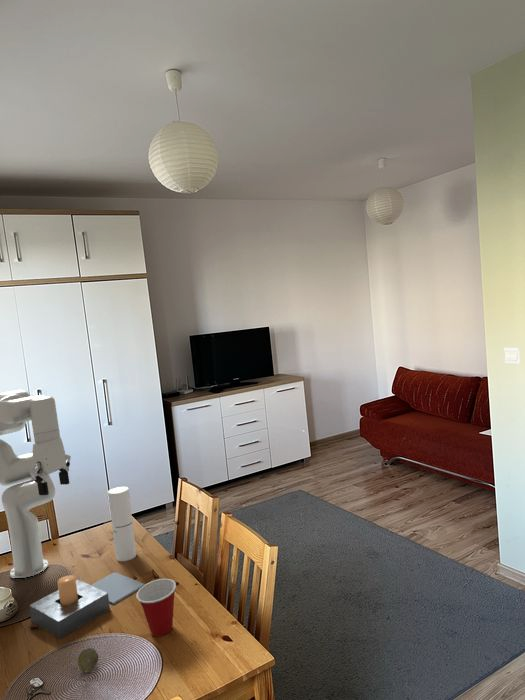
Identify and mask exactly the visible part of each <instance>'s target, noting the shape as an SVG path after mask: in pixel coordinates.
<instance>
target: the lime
mask: <svg viewBox="0 0 525 700" xmlns="http://www.w3.org/2000/svg"><path fill="white" fill-rule="evenodd" d="M98 654H99V653H98V652H97V650H95V649H94V648H92V647H88V648H85V649H84V650H82V651H81V653H80V654H79V655H78V658H77V665H78V667H79V668H80V670H81V671H82V672H85V673H91V672H92V671H93V670H95V669H96V667H97V665H98V662H99V655H98Z"/></svg>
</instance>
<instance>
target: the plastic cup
mask: <svg viewBox="0 0 525 700" xmlns="http://www.w3.org/2000/svg"><path fill="white" fill-rule="evenodd" d="M144 584H145V583H144ZM176 585H177V583H176V581H174V580H173V579H169V578H159V579H158V578H157V579H155V580H151V581H150V582H148V583H146V584H145V585H144V586H143V587H141V588H140V589H139V590H137V591H136V600H137V601H138V602H139V603H140V605H141V608H142V610H143V613H144V616H145V619H146V623H147V624H148V627H149V631H150V634H152V636H154V637H164V636H165V635H168V634H169V633H170V632H172V630H171V629H173V624H174V622H173V621H174V620H173V619H174V607H175V605H174V603H175V602H174V601H175V592H176V589H177V586H176Z"/></svg>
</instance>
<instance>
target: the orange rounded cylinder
mask: <svg viewBox="0 0 525 700" xmlns="http://www.w3.org/2000/svg"><path fill="white" fill-rule="evenodd" d="M76 580H77V578H76V576H75V575H73V574H72V575H65V576H62V577H60V578H59V579H58V580H57V590H59V598H60V605H62V606H64V607H66V606H68V605H70V604H72V603H73V602H75V601H77V600H78V594H77V586H76Z"/></svg>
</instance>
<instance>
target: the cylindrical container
mask: <svg viewBox="0 0 525 700" xmlns="http://www.w3.org/2000/svg"><path fill="white" fill-rule="evenodd" d="M129 489H130V488H129V487H128V486H117V487H114V488H111V489H108V491H107V494H108V503H109V510H110V517H111V525H112V526H111V527H112V536H113V544H114V551H115V560H116V561H117V562H127V561H131V560H133V559H134V558H136V556H137V550H136V549H137V548H136V541H135V532H134V525H133V517H132V514H133V513H132V506H131V505H132V504H131V499H130V491H129Z"/></svg>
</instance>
